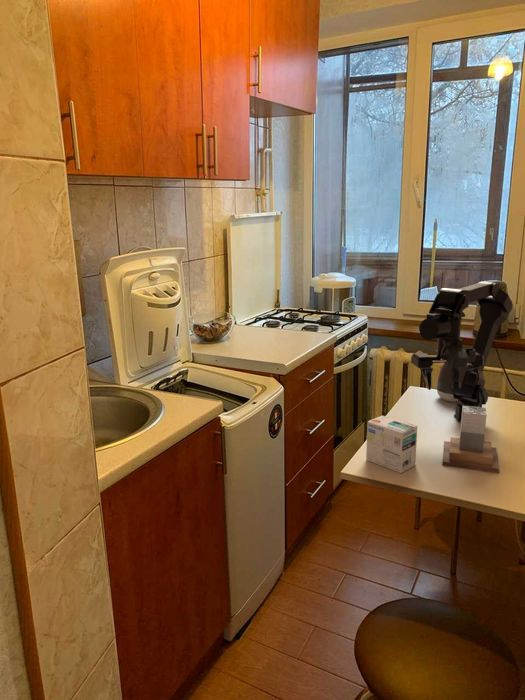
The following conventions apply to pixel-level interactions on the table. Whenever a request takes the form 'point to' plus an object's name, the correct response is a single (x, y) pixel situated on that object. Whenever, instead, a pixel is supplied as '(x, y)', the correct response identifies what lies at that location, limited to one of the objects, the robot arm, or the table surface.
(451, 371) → the pump dispenser
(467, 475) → the table surface
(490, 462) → the walnut stand
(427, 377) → the robot arm
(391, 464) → the light bulb box
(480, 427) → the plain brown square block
